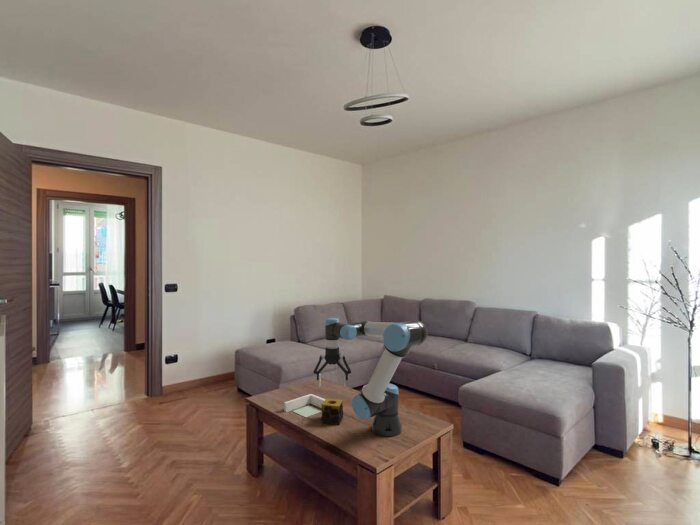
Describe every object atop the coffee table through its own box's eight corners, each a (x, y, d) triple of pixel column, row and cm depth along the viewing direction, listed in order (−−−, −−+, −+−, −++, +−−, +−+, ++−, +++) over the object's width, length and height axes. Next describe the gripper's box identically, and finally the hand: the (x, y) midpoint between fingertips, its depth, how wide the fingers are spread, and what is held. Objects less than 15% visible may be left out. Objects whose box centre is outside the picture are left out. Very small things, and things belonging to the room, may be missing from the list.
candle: (339, 425, 200) (339, 406, 200) (320, 423, 202) (320, 404, 202) (343, 417, 210) (343, 399, 210) (325, 416, 212) (325, 398, 212)
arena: (331, 410, 220) (331, 401, 220) (303, 420, 206) (303, 411, 206) (311, 401, 233) (311, 393, 233) (284, 411, 219) (284, 402, 219)
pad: (322, 411, 218) (322, 411, 218) (305, 417, 209) (305, 417, 209) (308, 405, 226) (308, 405, 226) (292, 411, 218) (292, 411, 218)
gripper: (355, 345, 209) (355, 383, 210) (309, 345, 209) (309, 384, 210) (355, 348, 202) (355, 388, 202) (308, 348, 202) (308, 388, 202)
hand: (332, 386), depth 206 cm, fingers open, 13 cm apart
